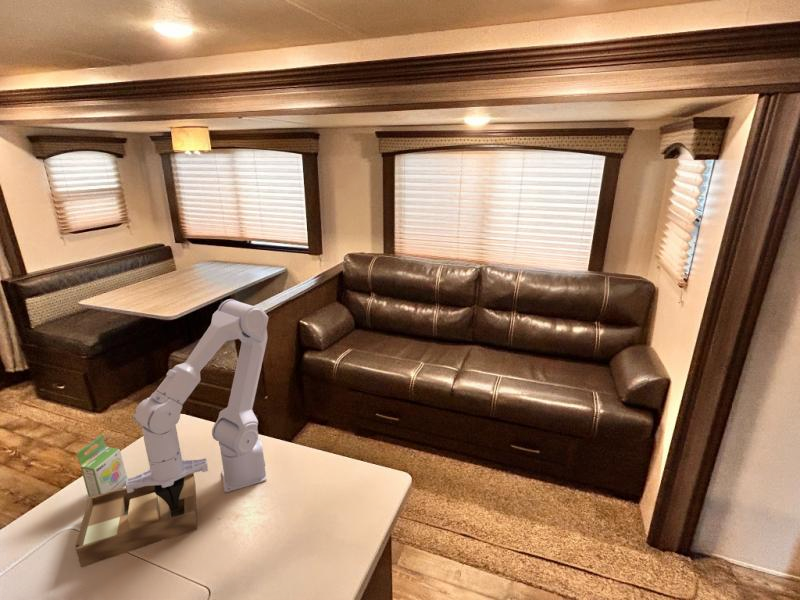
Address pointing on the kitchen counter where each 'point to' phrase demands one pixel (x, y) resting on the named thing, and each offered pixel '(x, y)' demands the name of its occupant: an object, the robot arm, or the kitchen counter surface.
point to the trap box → (110, 527)
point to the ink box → (102, 468)
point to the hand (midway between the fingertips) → (174, 506)
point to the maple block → (144, 511)
